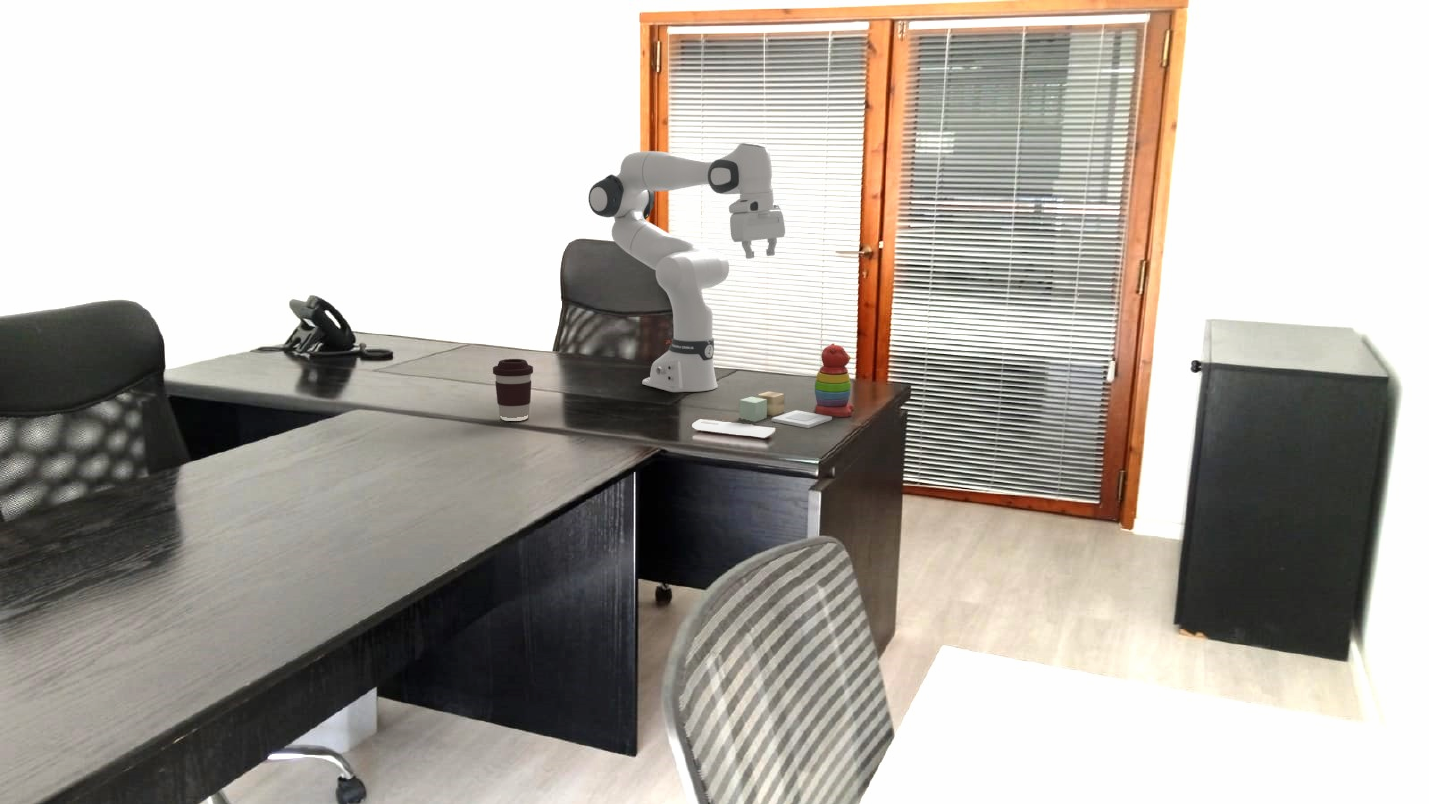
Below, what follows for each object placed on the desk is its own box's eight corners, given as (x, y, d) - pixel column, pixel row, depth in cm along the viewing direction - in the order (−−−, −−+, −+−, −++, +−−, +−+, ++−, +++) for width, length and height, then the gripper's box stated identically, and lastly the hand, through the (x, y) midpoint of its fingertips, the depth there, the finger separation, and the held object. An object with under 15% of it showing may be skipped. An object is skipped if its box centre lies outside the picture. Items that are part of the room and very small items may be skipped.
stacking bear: (851, 417, 283) (853, 349, 279) (811, 415, 285) (813, 347, 281) (854, 408, 293) (856, 342, 289) (816, 406, 295) (818, 340, 291)
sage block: (739, 419, 281) (739, 400, 280) (750, 415, 285) (751, 396, 284) (755, 422, 278) (755, 402, 277) (766, 418, 282) (766, 399, 281)
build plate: (771, 421, 279) (771, 417, 279) (795, 413, 287) (796, 409, 287) (808, 428, 272) (808, 424, 272) (831, 419, 281) (832, 416, 281)
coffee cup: (542, 417, 281) (540, 359, 278) (517, 425, 273) (516, 365, 270) (511, 413, 286) (509, 356, 283) (486, 420, 277) (484, 361, 274)
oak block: (757, 413, 288) (757, 394, 286) (768, 409, 291) (768, 391, 290) (773, 416, 285) (773, 397, 284) (784, 412, 288) (784, 393, 287)
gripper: (769, 203, 302) (773, 254, 305) (724, 206, 287) (728, 260, 289) (789, 202, 298) (792, 253, 301) (744, 205, 283) (747, 259, 285)
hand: (760, 257), depth 295 cm, fingers open, 8 cm apart
